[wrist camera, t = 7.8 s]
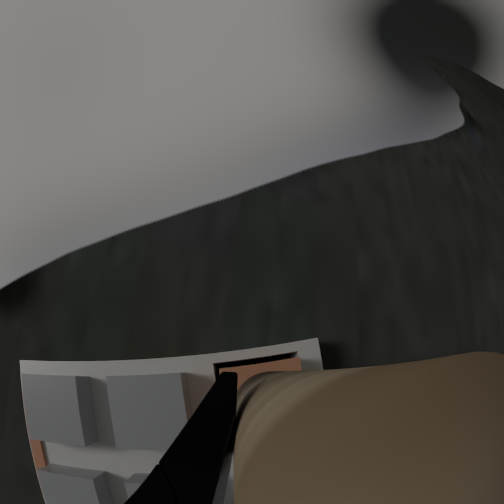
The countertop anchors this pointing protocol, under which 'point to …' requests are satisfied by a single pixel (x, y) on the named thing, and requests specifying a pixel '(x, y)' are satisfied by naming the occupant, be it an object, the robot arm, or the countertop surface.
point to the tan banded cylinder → (373, 434)
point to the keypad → (120, 417)
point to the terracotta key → (263, 368)
